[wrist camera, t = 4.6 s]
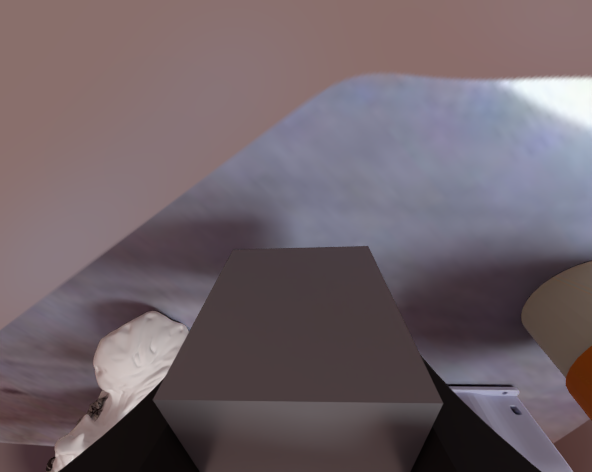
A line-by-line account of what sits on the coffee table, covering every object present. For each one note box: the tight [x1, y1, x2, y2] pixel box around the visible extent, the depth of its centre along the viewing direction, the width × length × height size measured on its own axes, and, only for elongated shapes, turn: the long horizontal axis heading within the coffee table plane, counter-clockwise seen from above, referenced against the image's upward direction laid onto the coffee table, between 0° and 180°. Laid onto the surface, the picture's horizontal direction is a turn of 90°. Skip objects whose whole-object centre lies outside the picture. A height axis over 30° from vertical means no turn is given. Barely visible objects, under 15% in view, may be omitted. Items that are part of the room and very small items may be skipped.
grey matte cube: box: [153, 246, 443, 472], centre depth 9 cm, size 6×6×7 cm
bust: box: [52, 311, 189, 472], centre depth 19 cm, size 12×8×11 cm
